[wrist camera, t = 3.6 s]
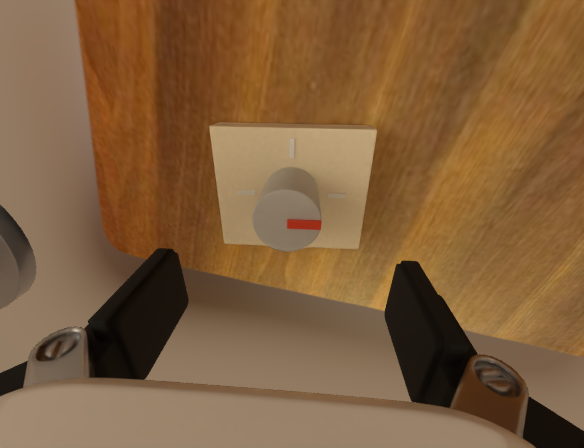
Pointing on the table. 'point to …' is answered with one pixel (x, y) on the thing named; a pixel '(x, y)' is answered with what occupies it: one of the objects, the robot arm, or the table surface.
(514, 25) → the table surface
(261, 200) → the knob
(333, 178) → the panel
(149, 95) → the table surface
